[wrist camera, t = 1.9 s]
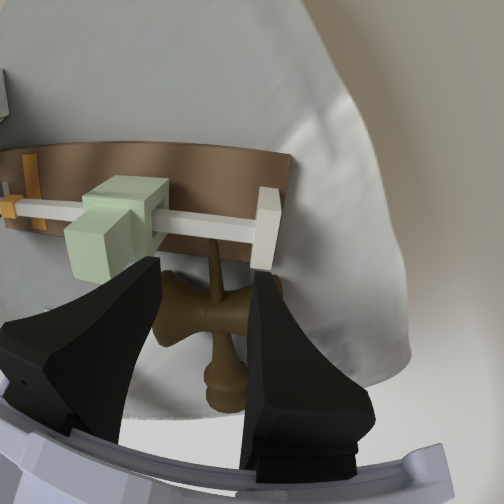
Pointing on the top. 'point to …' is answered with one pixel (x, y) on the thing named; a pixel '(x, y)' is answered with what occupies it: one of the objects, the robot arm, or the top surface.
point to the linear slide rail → (174, 221)
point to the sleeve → (116, 226)
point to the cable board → (149, 165)
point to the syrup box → (3, 98)
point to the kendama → (209, 328)
